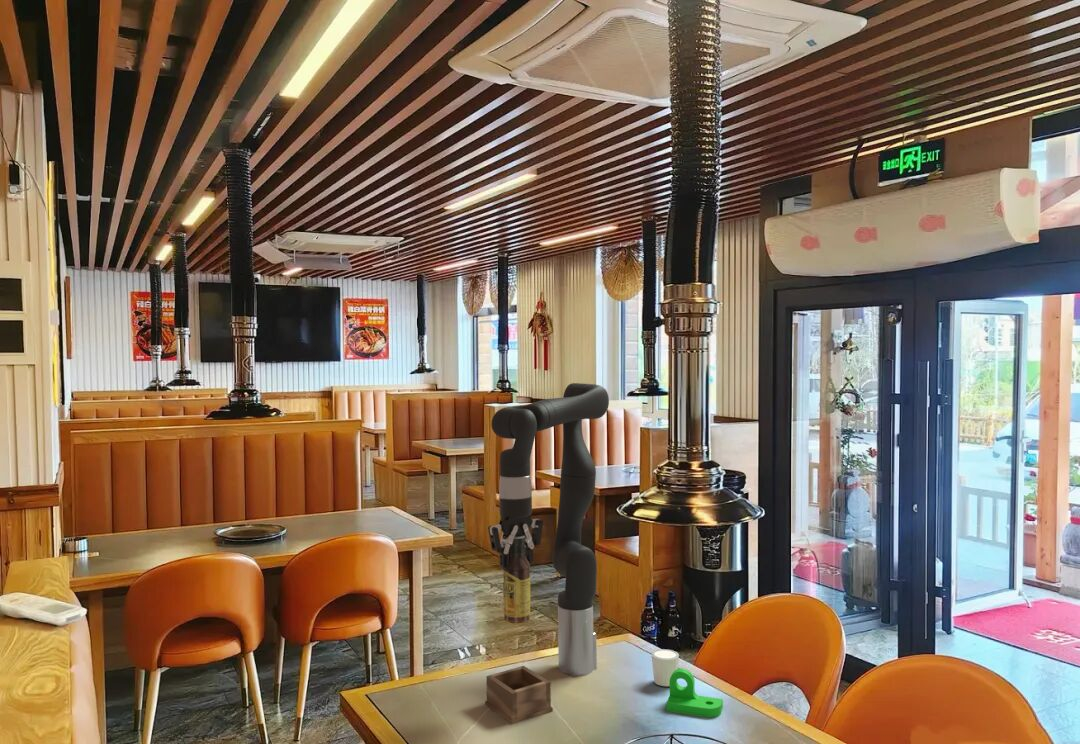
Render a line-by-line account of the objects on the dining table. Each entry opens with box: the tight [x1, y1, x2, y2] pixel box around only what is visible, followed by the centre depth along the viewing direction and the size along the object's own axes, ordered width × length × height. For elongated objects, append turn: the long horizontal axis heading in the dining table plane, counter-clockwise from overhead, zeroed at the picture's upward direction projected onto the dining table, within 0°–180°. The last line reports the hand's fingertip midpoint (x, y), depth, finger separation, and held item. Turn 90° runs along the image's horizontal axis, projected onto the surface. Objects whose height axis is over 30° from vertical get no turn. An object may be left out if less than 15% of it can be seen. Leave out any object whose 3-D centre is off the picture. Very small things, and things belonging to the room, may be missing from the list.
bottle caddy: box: [484, 665, 554, 725], centre depth 181 cm, size 11×12×7 cm
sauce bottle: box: [502, 535, 531, 624], centre depth 180 cm, size 6×6×20 cm
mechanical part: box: [665, 667, 724, 718], centre depth 180 cm, size 12×6×8 cm, turn 70°
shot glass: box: [651, 648, 680, 687], centre depth 195 cm, size 7×7×7 cm
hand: (516, 566), depth 180 cm, fingers closed on sauce bottle, 5 cm apart
